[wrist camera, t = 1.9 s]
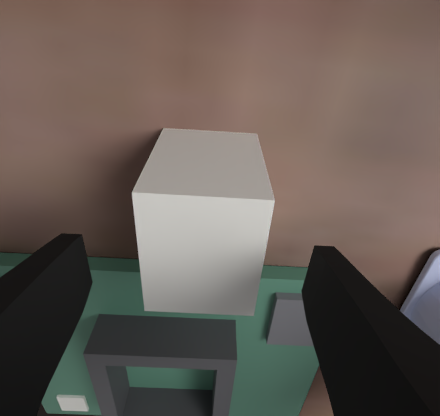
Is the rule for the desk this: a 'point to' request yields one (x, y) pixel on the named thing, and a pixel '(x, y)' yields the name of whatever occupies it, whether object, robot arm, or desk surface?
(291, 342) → the board
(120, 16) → the desk surface
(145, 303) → the plug block
